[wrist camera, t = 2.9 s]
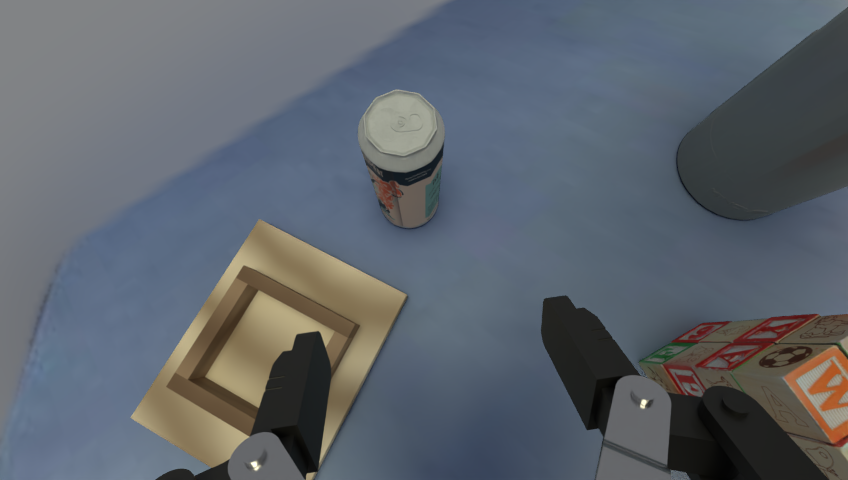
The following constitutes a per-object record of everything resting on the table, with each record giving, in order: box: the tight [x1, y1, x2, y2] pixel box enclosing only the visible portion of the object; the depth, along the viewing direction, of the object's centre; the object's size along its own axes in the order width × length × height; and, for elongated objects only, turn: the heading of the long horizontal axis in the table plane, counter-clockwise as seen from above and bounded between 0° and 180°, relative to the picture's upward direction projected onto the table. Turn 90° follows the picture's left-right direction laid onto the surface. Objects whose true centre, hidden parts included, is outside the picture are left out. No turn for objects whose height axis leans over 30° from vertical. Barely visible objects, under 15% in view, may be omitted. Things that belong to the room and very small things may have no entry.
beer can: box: [358, 90, 445, 228], centre depth 25 cm, size 5×5×12 cm
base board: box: [131, 219, 408, 480], centre depth 27 cm, size 16×13×4 cm
